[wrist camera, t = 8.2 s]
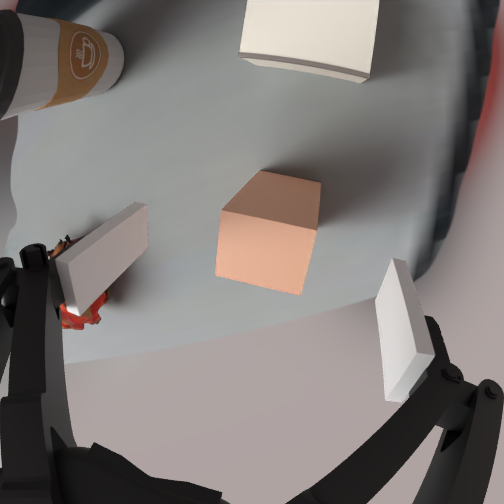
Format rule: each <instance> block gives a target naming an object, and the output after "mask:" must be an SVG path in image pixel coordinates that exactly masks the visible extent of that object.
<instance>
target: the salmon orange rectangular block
mask: <svg viewBox="0 0 504 504" xmlns="http://www.w3.org/2000/svg"><path fill="white" fill-rule="evenodd" d="M320 194H321V183H319V182H315V181H310V180H306V179H301V178H296V177H291V176H286V175H281V174H276V173H271V172H266V171H261V170H260V171H259V172H258V173H257V174H256V175H255V176H254V177H253V178H252V179H251V180H250V181H249V182H248V183H247V184H246V185H245V186H244V187H243V188H242V189H241V190H240V191H239V192H238V193H237V194H236V195H235V196H234V197H233V198H232V199H231V200H230V201H229V202H228V204H227V205H226V206H225V207H224V208H223V209H222V210H221V217H220V227H219V237H218V248H217V259H216V270H215V275H216V276H220V277H224V278H228V279H233V280H237V281H241V282H245V283H249V284H253V285H257V286H262V287H266V288H270V289H274V290H279V291H283V292H287V293H292V294H296V295H300V296H301V293H302V289H303V285H304V281H305V277H306V273H307V270H308V266H309V262H310V258H311V254H312V250H313V245H314V241H315V237H316V233H317V226H318V216H319V205H320Z"/></svg>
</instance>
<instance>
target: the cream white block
mask: <svg viewBox="0 0 504 504" xmlns="http://www.w3.org/2000/svg"><path fill="white" fill-rule="evenodd" d="M378 8H379V0H248V1H247V8H246V14H245V20H244V26H243V33H242V39H241V46H240V52H239V53H238V57H240V58H243V59H245V60H247V61H249V62H251V63H253V64H255V65H259V66H268V67H276V68H283V69H290V70H296V71H302V72H308V73H314V74H319V75H324V76H329V77H334V78H339V79H343V80H348V81H352V82H356V83H362V82H364V81H365V80H367V79H370V68H371V61H372V54H373V48H374V40H375V33H376V25H377V17H378Z"/></svg>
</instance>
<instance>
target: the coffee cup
mask: <svg viewBox="0 0 504 504" xmlns="http://www.w3.org/2000/svg"><path fill="white" fill-rule="evenodd" d="M123 65H124V51H123V48H122V46H121V44H120V42H119V41H118V40H117V38H116V37H115V36H113V35H111V34H110V33H106V32H103V31H99V30H95V29H92V28H91V27H88V26H84V25H80V24H76V23H71V22H67V21H63V20H58V19H52V18H42V17H36V16H30V15H24V14H17V13H15V12H13V11H12V10H0V120H3V119H6V118H9V117H12V116H16V115H19V114H22V113H26V112H29V111H34V110H40V109H44V108H47V107H51V106H55V105H59V104H63V103H68V102H72V101H75V100H78V99H82V98H87V97H93V96H97V95H100V94H103V93H104V92H106V91H107V90H108V89H109V88H110V87H112V86H113V85H114V83H115V82H116V81H117V80H118V78H119V76H120V75H121V72H122V69H123Z"/></svg>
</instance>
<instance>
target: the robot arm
mask: <svg viewBox="0 0 504 504" xmlns="http://www.w3.org/2000/svg"><path fill="white" fill-rule="evenodd" d="M147 249H148V228H147V204H144V203H139V202H135V203H133V204H132V205H130V206H129V207H127V208H126V209H124V210H123V211H121V212H120V213H118V214H117V215H115V216H114V217H112V218H111V219H109V220H108V221H107V222H105V223H104V224H102V225H101V226H99V227H98V228H97V229H95V230H94V231H92V232H91V233H90V234H88V235H87V236H83V237H81V238H78V239H76V240H75V241H73V242H72V243H71V244H69V245H68V246H66V247H65V248H64V250H63V249H62V250H61V251H60V252H58V253H57V254H56V255H54V256H53V257H52V258H50V259H49V260H48V255H47V251H46V246H45V245H43V244H40V243H36V244H31V245H28V246H26V247H24V248H23V249H22V250H21V251H20V253H19V254H20V258H21V262H22V266H23V268H17V267H15V264H14V261H13V259H12V258H9V257H2V258H0V382H1V379H2V376H3V373H4V369H5V366H6V363H7V360H8V357H9V355H10V367H9V387H8V389H9V390H8V396H7V397H2V399H1V401H0V441H1V459H2V468H0V504H230V503H228V502H227V501H225V500H223V499H221V497H222V492H219V491H216V490H212V489H208V488H206V487H202V486H199V485H196V484H192V483H190V482H184V481H175V480H168V479H161V478H154V477H150V476H149V475H147V474H146V473H144V472H143V471H141V470H140V469H139V468H137V467H136V466H135V465H133V464H132V463H131V462H129V461H128V460H127V459H126V458H124V457H123V456H121V455H119V454H117V453H115V452H113V451H111V450H109V449H107V448H105V447H103V446H101V445H99V444H97V443H95V442H94V443H93V445H92V446H91V448H86V447H77V444H76V442H75V440H74V437H73V433H72V428H71V421H70V415H69V408H68V400H67V392H66V383H65V372H64V359H63V342H62V311H61V308H60V305H61V304H62V303H63V302H64V301H65V303H66V307H67V311H68V312H70V313H73V314H75V315H77V316H81V315H82V314H83V313H84V312H85V311H86V310H87V309H88V308H89V306H90V305H91V304H92V303H93V302H94V301H95V300H96V299H97V298H98V297H99V296H100V295H101V294H102V293H103V292H104V291H105V290H106V289H107V288H108V287H109V286H110V285H111V284H112V283H113V282H114V281H115V280H116V279H117V278H118V277H119V276H120V275H121V274H122V273H123V272H124V271H125V270H126V269H127V268H128V267H129V266H130V265H131V264H132V263H133V262H134V261H135V260H136V259H137V258H138V257H139V256H140V255H141V254H142V253H143V252H145V251H146V250H147ZM1 302H2V305H1ZM375 304H376V310H377V319H378V327H379V335H380V344H381V354H382V364H383V376H384V389H385V400H388V401H395V402H403V400H404V399H405V398H406V397H407V395H408V394H409V398H408V400H407V401H406V402H405V403H404V404H403V405H402V406H401V407H400V408H399V409H398V411H396V412H395V413H394V415H393V416H392V417H391V418H390V419H389V420H388V421H387V422H386V423H385V424H384V425H383V426H382V427H381V428H380V429H379V430H377V432H375V433H374V434H373V435H372V436H371V437H370V438H369V439H368V440H367V441H366V442H365V443H364V444H363V445H362V446H360V447H359V448H358V449H357V450H356V451H355V452H354V453H353V454H351V455H350V456H349V457H348V458H347V459H346V460H345V461H343V462H342V463H341V464H340V465H339V466H337V467H336V468H335V469H334V470H332V471H331V472H330V473H329V474H328V475H326V476H325V477H324V478H322V479H321V480H320V481H319V482H317V483H316V484H315V485H313V486H312V487H310V488H309V489H307V490H305V491H303V492H302V493H300V494H299V495H297V496H296V497H294V498H293V499H292V500H290V501H289V502H287V503H286V504H367V503H368V502H369V501H370V499H372V498H373V497H374V496H375V494H377V493H378V491H380V490H381V489H382V488H383V486H384V485H385V484H386V483H387V482H388V481H389V480H390V479H391V478H392V477H393V476H394V475H395V474H396V473H397V471H398V470H399V469H400V468H401V467H402V466H403V465H404V463H405V462H406V461H407V460H408V459H409V458H410V456H411V455H412V454H413V453H414V452H415V450H416V449H417V448H418V447H419V445H420V444H421V443H422V442H423V440H424V439H425V438H426V437H427V435H428V434H429V432H430V431H431V430H432V429H433V427H434V426H435V425H437V426H440V427H442V428H444V429H443V432H442V435H441V437H440V440H439V443H438V446H437V448H436V451H435V454H434V456H433V459H432V461H431V464H430V466H429V469H428V471H427V473H426V476H425V478H424V480H423V482H422V485H421V487H420V489H419V491H418V493H417V495H416V497H415V500H414V501H413V503H412V504H483V502H484V498H485V495H486V492H487V488H488V484H489V480H490V477H491V472H492V468H493V464H494V459H495V455H496V450H497V444H498V439H499V433H500V427H501V419H502V412H503V403H504V393H503V391H502V388H501V387H500V386H499V385H498V384H497V383H496V382H494V381H493V380H490V379H485V380H483V381H482V382H481V383H480V384H479V385H478V386H476V385H473V384H471V383H469V382H466V381H464V378H463V374H462V372H461V371H460V369H459V368H458V367H457V366H455V365H454V364H452V363H450V360H449V357H448V353H447V350H446V346H445V343H444V342H443V337H442V335H441V331H440V328H439V325H438V324H437V322H436V321H435V320H434V319H433V317H430V316H425V315H424V314H423V311H422V308H421V304H420V301H419V298H418V295H417V292H416V289H415V286H414V283H413V280H412V277H411V275H410V272H409V269H408V266H407V264H406V261H403V260H399V259H395V258H392V260H391V262H390V265H389V268H388V270H387V273H386V275H385V278H384V281H383V283H382V286H381V288H380V291H379V293H378V296H377V298H376V300H375ZM10 352H11V354H10Z"/></svg>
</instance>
